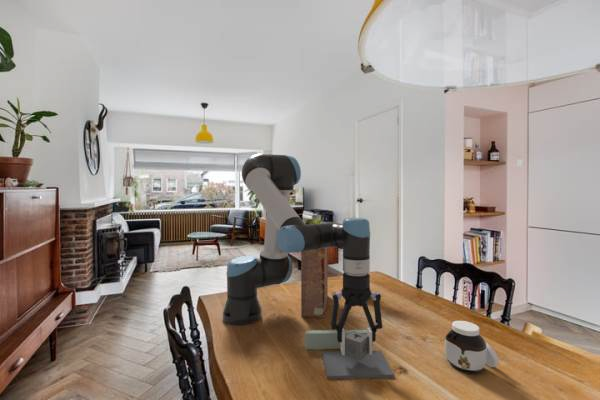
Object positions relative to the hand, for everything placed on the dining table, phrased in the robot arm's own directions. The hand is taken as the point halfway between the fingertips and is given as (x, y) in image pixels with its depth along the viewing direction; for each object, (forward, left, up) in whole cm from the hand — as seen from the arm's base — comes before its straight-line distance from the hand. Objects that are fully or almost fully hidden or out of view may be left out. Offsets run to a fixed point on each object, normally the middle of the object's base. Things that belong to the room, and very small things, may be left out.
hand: (356, 352), depth 85 cm
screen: (-4, +10, -4) cm, 11 cm away
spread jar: (+33, -1, -4) cm, 33 cm away
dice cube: (0, 0, 0) cm, 1 cm away
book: (-8, +45, -4) cm, 46 cm away
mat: (0, 0, -4) cm, 4 cm away
